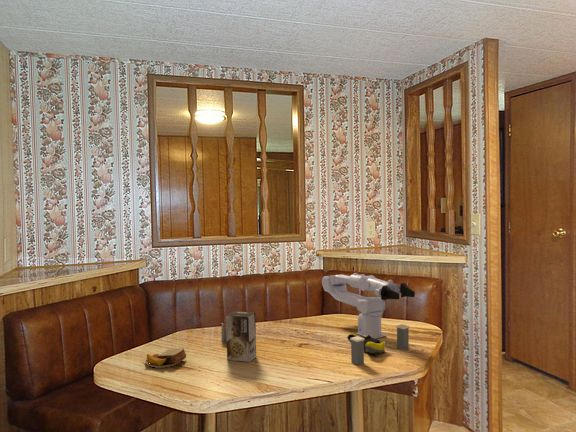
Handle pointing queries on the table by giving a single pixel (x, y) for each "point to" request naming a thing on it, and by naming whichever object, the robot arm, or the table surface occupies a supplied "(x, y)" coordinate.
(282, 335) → the table surface
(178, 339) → the table surface
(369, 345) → the black yellow sneaker
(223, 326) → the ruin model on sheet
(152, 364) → the toy sandwich meal
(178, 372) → the table surface
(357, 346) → the posts
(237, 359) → the coffee box
